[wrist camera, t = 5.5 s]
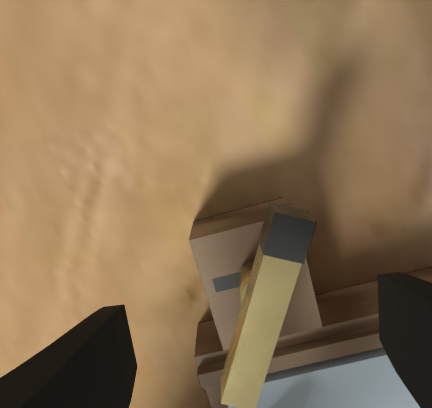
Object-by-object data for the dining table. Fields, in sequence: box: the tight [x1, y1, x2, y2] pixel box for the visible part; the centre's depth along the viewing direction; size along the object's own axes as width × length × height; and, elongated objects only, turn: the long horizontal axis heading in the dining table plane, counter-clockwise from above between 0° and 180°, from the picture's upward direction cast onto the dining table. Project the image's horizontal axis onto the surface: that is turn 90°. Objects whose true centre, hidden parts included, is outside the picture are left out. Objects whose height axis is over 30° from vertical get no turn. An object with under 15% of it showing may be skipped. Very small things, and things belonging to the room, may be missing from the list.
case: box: [189, 198, 432, 408], centre depth 20 cm, size 14×16×4 cm
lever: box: [221, 202, 317, 408], centre depth 16 cm, size 8×2×4 cm, turn 167°
